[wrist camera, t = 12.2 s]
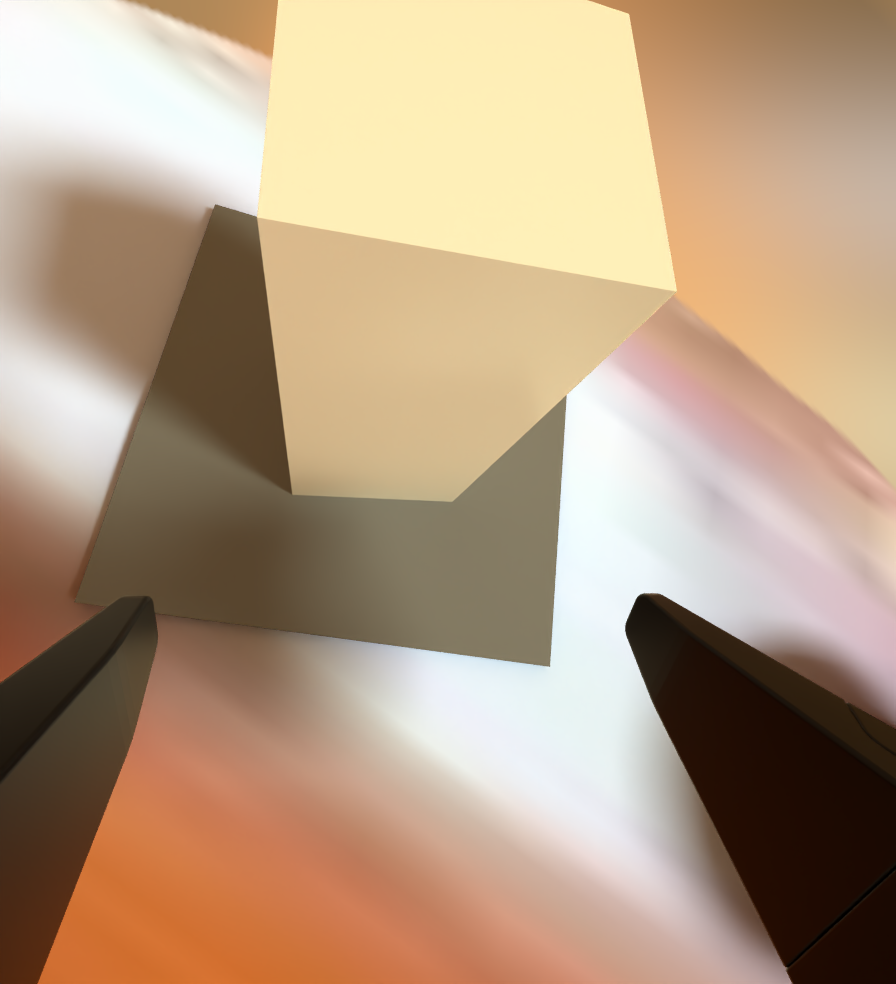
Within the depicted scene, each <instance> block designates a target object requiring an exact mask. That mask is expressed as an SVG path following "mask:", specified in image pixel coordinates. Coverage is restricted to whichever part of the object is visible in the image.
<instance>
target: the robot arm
mask: <svg viewBox="0 0 896 984" xmlns="http://www.w3.org/2000/svg"><path fill="white" fill-rule="evenodd" d="M625 631H626V636H627V639H628V641H629V644H630V646H631V649H632V651H633V654H634V657H635V659H636V662H637V664H638V667H639V669H640V672H641V675H642V677H643V680H644V682H645V685H646V687H647V690H648V693H649V695H650V697H651V700H652V702H653V704H654V707H655V709H656V711H657V713H658V715H659V717H660V719H661V721H662V723H663V725H664V727H665V729H666V731H667V733H668V735H669V737H670V739H671V741H672V743H673V745H674V747H675V749H676V751H677V753H678V755H679V757H680V759H681V761H682V763H683V765H684V767H685V769H686V771H687V773H688V775H689V777H690V779H691V781H692V783H693V785H694V787H695V789H696V791H697V793H698V795H699V797H700V799H701V801H702V803H703V805H704V807H705V809H706V811H707V813H708V815H709V817H710V819H711V821H712V823H713V825H714V827H715V829H716V831H717V833H718V835H719V837H720V839H721V841H722V843H723V845H724V847H725V849H726V851H727V853H728V855H729V857H730V859H731V861H732V863H733V865H734V867H735V869H736V871H737V873H738V875H739V877H740V879H741V881H742V883H743V885H744V887H745V889H746V891H747V893H748V895H749V897H750V899H751V901H752V903H753V905H754V907H755V909H756V911H757V913H758V915H759V917H760V919H761V921H762V923H763V925H764V927H765V929H766V931H767V933H768V935H769V937H770V939H771V941H772V943H773V945H774V947H775V949H776V951H777V953H778V955H779V957H780V959H781V961H782V963H783V965H784V966H785V967H787V968H786V972H787V974H788V976H789V978H790V980H791V982H792V984H896V729H894V728H892V727H891V726H889V725H887V724H885V723H884V722H882V721H880V720H878V719H876V718H875V717H873V716H871V715H869V714H868V713H866V712H864V711H862V710H861V709H859V708H857V707H856V706H854V705H852V704H850V703H846V702H845V701H844V700H843V699H842V698H840V697H838V696H836V695H835V694H833V693H831V692H829V691H828V690H826V689H824V688H822V687H821V686H819V685H817V684H816V683H814V682H812V681H810V680H809V679H807V678H805V677H803V676H802V675H800V674H798V673H796V672H795V671H793V670H791V669H790V668H788V667H786V666H784V665H783V664H781V663H779V662H777V661H776V660H774V659H772V658H770V657H769V656H767V655H765V654H764V653H762V652H760V651H758V650H757V649H755V648H753V647H751V646H750V645H748V644H746V643H744V642H743V641H741V640H739V639H738V638H736V637H734V636H732V635H731V634H729V633H727V632H725V631H724V630H722V629H720V628H718V627H717V626H715V625H713V624H712V623H710V622H708V621H706V620H705V619H703V618H701V617H699V616H698V615H696V614H694V613H692V612H691V611H689V610H687V609H686V608H684V607H682V606H680V605H679V604H677V603H675V602H673V601H672V600H670V599H668V598H667V597H665V596H663V595H661V594H657V593H644V594H640V595H639V596H638V597H637V599H636V601H635V603H634V605H633V607H632V610H631V612H630V614H629V617H628V619H627V621H626V625H625ZM157 641H158V632H157V625H156V617H155V610H154V603H153V600H152V598H151V597H149V596H122V597H120V598H118V599H116V600H115V601H114V602H112V603H111V604H109V605H108V606H107V607H105V608H104V609H103V610H101V611H100V612H98V613H97V614H96V615H94V616H93V617H91V618H90V619H89V620H87V621H86V622H84V623H83V624H82V625H80V626H79V627H77V628H76V629H75V630H73V631H72V632H70V633H69V634H68V635H66V636H65V637H63V638H62V639H61V640H59V641H58V642H57V643H55V644H54V645H52V646H51V647H50V648H48V649H47V650H45V651H44V652H43V653H41V654H40V655H38V656H37V657H36V658H34V659H33V660H31V661H30V662H29V663H27V664H26V665H24V666H23V667H22V668H20V669H19V670H17V671H16V672H15V673H13V674H12V675H11V676H9V677H8V678H6V679H5V680H4V681H2V682H1V683H0V984H38V981H39V979H40V976H41V974H42V971H43V968H44V966H45V963H46V961H47V958H48V956H49V953H50V950H51V948H52V945H53V943H54V940H55V938H56V935H57V933H58V930H59V927H60V925H61V922H62V920H63V917H64V915H65V912H66V909H67V907H68V904H69V902H70V899H71V897H72V894H73V892H74V889H75V886H76V884H77V881H78V879H79V876H80V874H81V871H82V868H83V866H84V863H85V861H86V858H87V856H88V853H89V851H90V848H91V845H92V843H93V840H94V838H95V835H96V833H97V830H98V827H99V825H100V822H101V820H102V817H103V815H104V812H105V810H106V807H107V804H108V802H109V799H110V797H111V794H112V792H113V789H114V786H115V784H116V781H117V779H118V776H119V774H120V771H121V769H122V766H123V763H124V761H125V758H126V756H127V753H128V750H129V747H130V745H131V742H132V739H133V735H134V732H135V728H136V725H137V721H138V717H139V713H140V710H141V706H142V702H143V698H144V694H145V690H146V687H147V683H148V679H149V675H150V671H151V667H152V664H153V660H154V656H155V652H156V648H157Z"/></svg>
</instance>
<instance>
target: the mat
mask: <svg viewBox="0 0 896 984" xmlns="http://www.w3.org/2000/svg"><path fill="white" fill-rule="evenodd" d="M566 396H567V395H566ZM566 396H565V397H564V398H563V399H562V400H561V401H560V402H558V403H557V404H556V405H555V406H554V407H553V408H552V409H551V410H550V411H549V412H548V413H547V414H546V415H545V416H544V417H542V418H541V419H540V420H539V421H538V422H537V423H536V424H535V425H534V426H533V427H532V428H531V429H530V430H529V431H527V432H526V433H525V434H524V435H523V436H522V437H521V438H520V439H519V440H518V441H517V442H516V443H515V444H514V445H513V446H511V447H510V448H509V449H508V450H507V451H506V452H505V453H504V454H503V455H502V456H501V457H500V458H499V459H498V460H496V461H495V462H494V463H493V464H492V465H491V466H490V467H489V468H488V469H487V470H486V471H485V472H484V473H483V474H482V475H480V476H479V477H478V478H477V479H476V480H475V481H474V482H473V483H472V484H471V485H470V486H469V487H468V488H467V489H465V490H464V491H463V492H462V493H461V494H460V495H459V496H458V497H457V498H456V499H455V500H454V501H453V502H445V501H423V500H400V499H377V498H355V497H332V496H309V495H292V488H291V480H290V472H289V464H288V456H287V448H286V440H285V433H284V425H283V417H282V409H281V401H280V393H279V385H278V378H277V370H276V362H275V354H274V346H273V338H272V331H271V323H270V315H269V307H268V299H267V291H266V283H265V276H264V268H263V260H262V252H261V244H260V236H259V228H258V221H257V217H256V216H252V215H249V214H246V213H242V212H239V211H236V210H232V209H229V208H226V207H222V206H219V205H216V204H215V206H214V209H213V212H212V215H211V218H210V221H209V223H208V226H207V229H206V232H205V235H204V238H203V240H202V243H201V246H200V249H199V252H198V255H197V257H196V260H195V263H194V266H193V269H192V271H191V274H190V277H189V280H188V283H187V286H186V288H185V291H184V294H183V297H182V300H181V303H180V305H179V308H178V311H177V314H176V317H175V320H174V322H173V325H172V328H171V331H170V334H169V337H168V339H167V342H166V345H165V348H164V351H163V353H162V356H161V359H160V362H159V365H158V368H157V370H156V373H155V376H154V379H153V382H152V385H151V387H150V390H149V393H148V396H147V399H146V402H145V404H144V407H143V410H142V413H141V416H140V418H139V421H138V424H137V427H136V430H135V433H134V435H133V438H132V441H131V444H130V447H129V450H128V452H127V455H126V458H125V461H124V464H123V467H122V469H121V472H120V475H119V478H118V481H117V484H116V486H115V489H114V492H113V495H112V498H111V500H110V503H109V506H108V509H107V512H106V515H105V517H104V520H103V523H102V526H101V529H100V532H99V534H98V537H97V540H96V543H95V546H94V549H93V551H92V554H91V557H90V560H89V563H88V566H87V568H86V571H85V574H84V577H83V580H82V582H81V585H80V588H79V591H78V594H77V597H76V599H75V602H76V603H83V604H91V605H98V606H105V607H107V606H108V605H109V604H111V603H112V602H114V601H115V600H116V599H118V598H120V597H122V596H149V597H151V598H152V600H153V603H154V610H155V613H157V614H164V615H172V616H179V617H187V618H194V619H201V620H209V621H216V622H224V623H231V624H238V625H246V626H253V627H261V628H268V629H275V630H283V631H290V632H297V633H305V634H312V635H320V636H327V637H334V638H342V639H349V640H357V641H364V642H371V643H379V644H386V645H394V646H401V647H408V648H416V649H423V650H430V651H438V652H445V653H453V654H460V655H467V656H475V657H482V658H490V659H497V660H504V661H512V662H519V663H527V664H534V665H541V666H549V667H550V656H551V640H552V624H553V607H554V591H555V575H556V559H557V542H558V526H559V510H560V494H561V477H562V461H563V445H564V429H565V412H566Z"/></svg>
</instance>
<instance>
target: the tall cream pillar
mask: <svg viewBox="0 0 896 984" xmlns="http://www.w3.org/2000/svg"><path fill="white" fill-rule="evenodd" d="M257 221H258V228H259V236H260V244H261V252H262V260H263V268H264V276H265V283H266V291H267V299H268V307H269V315H270V323H271V331H272V338H273V346H274V354H275V362H276V370H277V378H278V385H279V393H280V401H281V409H282V417H283V425H284V433H285V440H286V448H287V456H288V464H289V472H290V480H291V488H292V495H309V496H332V497H355V498H377V499H400V500H423V501H445V502H453V501H454V500H455V499H456V498H457V497H458V496H459V495H460V494H461V493H462V492H463V491H464V490H465V489H467V488H468V487H469V486H470V485H471V484H472V483H473V482H474V481H475V480H476V479H477V478H478V477H479V476H480V475H482V474H483V473H484V472H485V471H486V470H487V469H488V468H489V467H490V466H491V465H492V464H493V463H494V462H495V461H496V460H498V459H499V458H500V457H501V456H502V455H503V454H504V453H505V452H506V451H507V450H508V449H509V448H510V447H511V446H513V445H514V444H515V443H516V442H517V441H518V440H519V439H520V438H521V437H522V436H523V435H524V434H525V433H526V432H527V431H529V430H530V429H531V428H532V427H533V426H534V425H535V424H536V423H537V422H538V421H539V420H540V419H541V418H542V417H544V416H545V415H546V414H547V413H548V412H549V411H550V410H551V409H552V408H553V407H554V406H555V405H556V404H557V403H558V402H560V401H561V400H562V399H563V398H564V397H565V396H566V395H567V394H568V393H569V392H570V391H571V390H572V389H573V388H575V387H576V386H577V385H578V384H579V383H580V382H581V381H582V380H583V379H584V378H585V377H586V376H587V375H588V374H589V373H591V372H592V371H593V370H594V369H595V368H596V367H597V366H598V365H599V364H600V363H601V362H602V361H603V360H604V359H606V358H607V357H608V356H609V355H610V354H611V353H612V352H613V351H614V350H615V349H616V348H617V347H618V346H619V345H620V344H622V343H623V342H624V341H625V340H626V339H627V338H628V337H629V336H630V335H631V334H632V333H633V332H634V331H635V330H637V329H638V328H639V327H640V326H641V325H642V324H643V323H644V322H645V321H646V320H647V319H648V318H649V317H650V316H651V315H653V314H654V313H655V312H656V311H657V310H658V309H659V308H660V307H661V306H662V305H663V304H664V303H665V302H666V301H668V300H669V299H670V298H671V297H672V296H673V295H674V294H675V293H676V292H677V289H676V283H675V277H674V272H673V266H672V261H671V254H670V248H669V243H668V237H667V231H666V226H665V220H664V214H663V208H662V202H661V197H660V191H659V185H658V179H657V173H656V168H655V162H654V157H653V150H652V145H651V139H650V133H649V128H648V121H647V116H646V110H645V104H644V99H643V93H642V87H641V81H640V76H639V70H638V64H637V58H636V52H635V46H634V41H633V35H632V29H631V23H630V18H629V14H627V13H624V12H621V11H618V10H615V9H612V8H609V7H606V6H603V5H600V4H597V3H594V2H591V1H588V0H278V10H277V21H276V31H275V41H274V51H273V61H272V71H271V81H270V92H269V102H268V112H267V122H266V132H265V142H264V152H263V163H262V173H261V183H260V193H259V203H258V213H257Z"/></svg>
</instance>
